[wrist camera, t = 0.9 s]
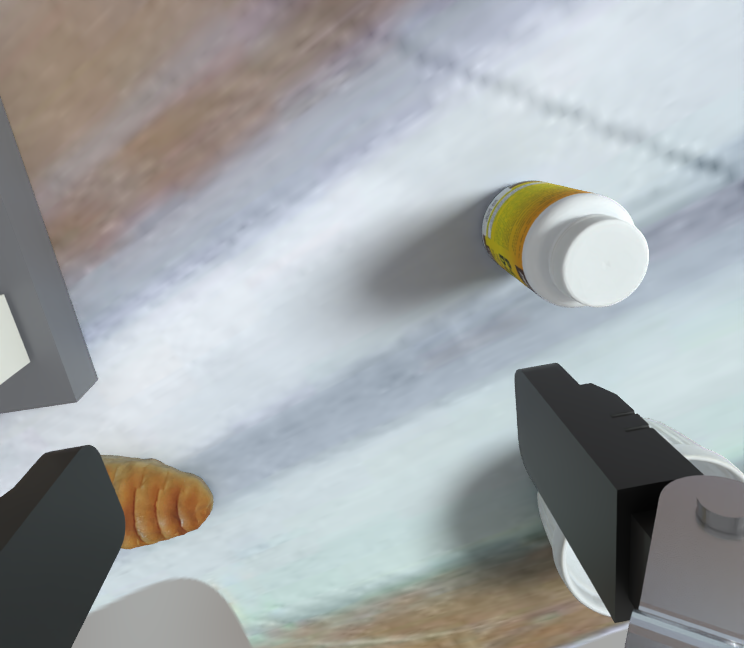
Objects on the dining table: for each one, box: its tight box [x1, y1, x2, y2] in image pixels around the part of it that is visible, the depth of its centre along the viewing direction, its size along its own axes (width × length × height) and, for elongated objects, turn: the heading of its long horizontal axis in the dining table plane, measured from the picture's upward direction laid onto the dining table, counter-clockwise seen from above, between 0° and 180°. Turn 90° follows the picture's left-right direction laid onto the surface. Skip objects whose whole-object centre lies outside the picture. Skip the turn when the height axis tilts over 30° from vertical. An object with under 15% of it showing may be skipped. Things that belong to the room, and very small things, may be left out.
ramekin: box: [537, 417, 744, 617], centre depth 36 cm, size 13×13×7 cm
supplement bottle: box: [482, 181, 649, 308], centre depth 27 cm, size 6×6×10 cm
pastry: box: [101, 455, 213, 549], centre depth 35 cm, size 9×7×4 cm
